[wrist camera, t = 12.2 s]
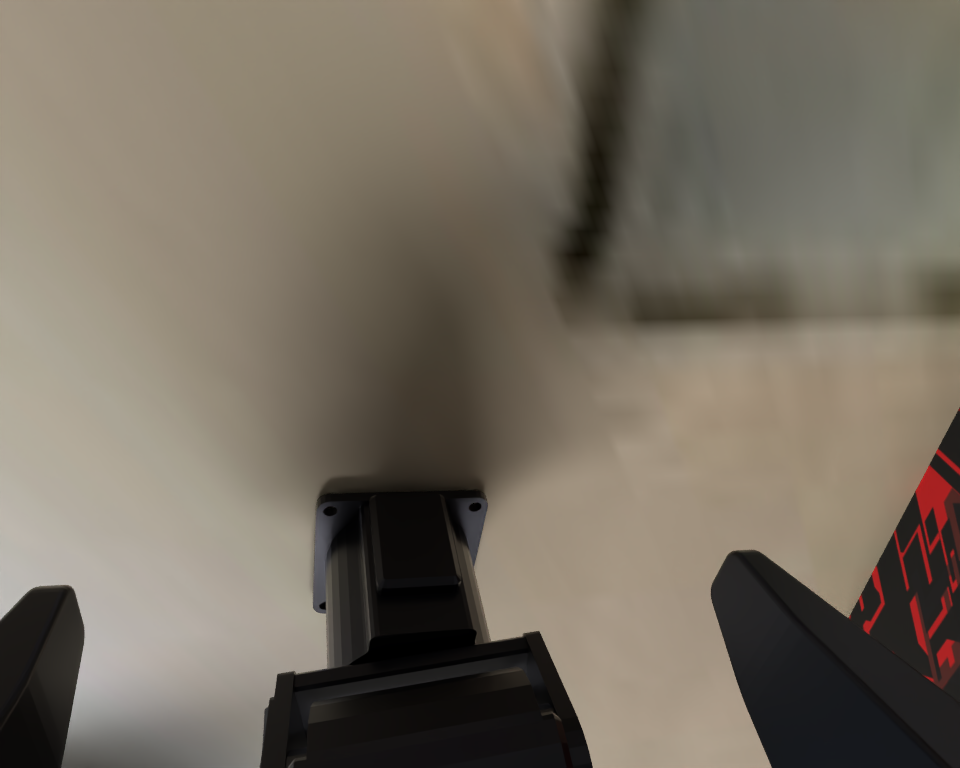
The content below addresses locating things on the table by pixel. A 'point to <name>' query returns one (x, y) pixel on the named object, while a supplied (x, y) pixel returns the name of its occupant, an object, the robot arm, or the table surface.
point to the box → (922, 576)
